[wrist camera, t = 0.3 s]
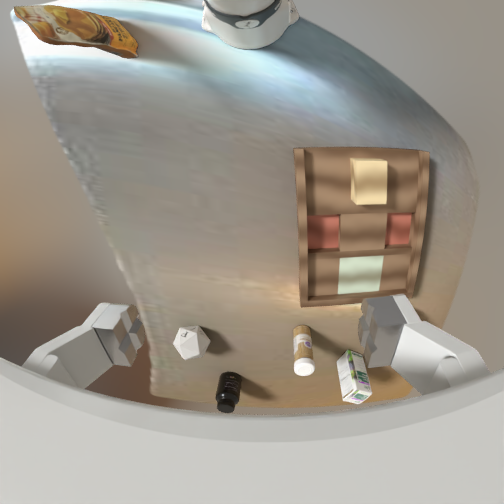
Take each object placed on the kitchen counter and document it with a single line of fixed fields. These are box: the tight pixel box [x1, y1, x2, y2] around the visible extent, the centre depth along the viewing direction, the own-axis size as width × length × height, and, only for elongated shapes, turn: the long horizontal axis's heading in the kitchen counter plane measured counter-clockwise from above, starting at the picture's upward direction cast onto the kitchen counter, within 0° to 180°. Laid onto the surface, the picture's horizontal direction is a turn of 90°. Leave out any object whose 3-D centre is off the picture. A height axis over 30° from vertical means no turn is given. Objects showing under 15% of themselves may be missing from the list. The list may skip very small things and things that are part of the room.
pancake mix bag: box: [14, 5, 138, 58], centre depth 28 cm, size 7×19×28 cm, turn 36°
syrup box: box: [337, 350, 372, 404], centre depth 65 cm, size 6×6×14 cm
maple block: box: [350, 158, 387, 205], centre depth 46 cm, size 8×6×4 cm
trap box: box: [293, 147, 429, 307], centre depth 53 cm, size 33×27×4 cm
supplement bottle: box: [216, 372, 242, 413], centre depth 73 cm, size 7×7×12 cm
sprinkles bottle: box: [293, 325, 315, 376], centre depth 62 cm, size 5×5×14 cm
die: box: [173, 325, 210, 360], centre depth 67 cm, size 8×9×10 cm
